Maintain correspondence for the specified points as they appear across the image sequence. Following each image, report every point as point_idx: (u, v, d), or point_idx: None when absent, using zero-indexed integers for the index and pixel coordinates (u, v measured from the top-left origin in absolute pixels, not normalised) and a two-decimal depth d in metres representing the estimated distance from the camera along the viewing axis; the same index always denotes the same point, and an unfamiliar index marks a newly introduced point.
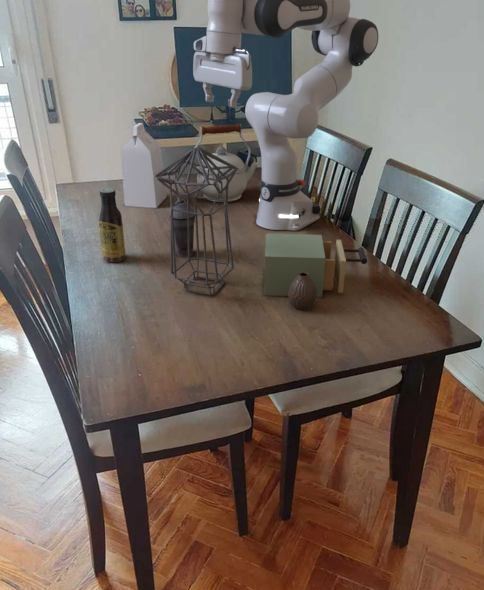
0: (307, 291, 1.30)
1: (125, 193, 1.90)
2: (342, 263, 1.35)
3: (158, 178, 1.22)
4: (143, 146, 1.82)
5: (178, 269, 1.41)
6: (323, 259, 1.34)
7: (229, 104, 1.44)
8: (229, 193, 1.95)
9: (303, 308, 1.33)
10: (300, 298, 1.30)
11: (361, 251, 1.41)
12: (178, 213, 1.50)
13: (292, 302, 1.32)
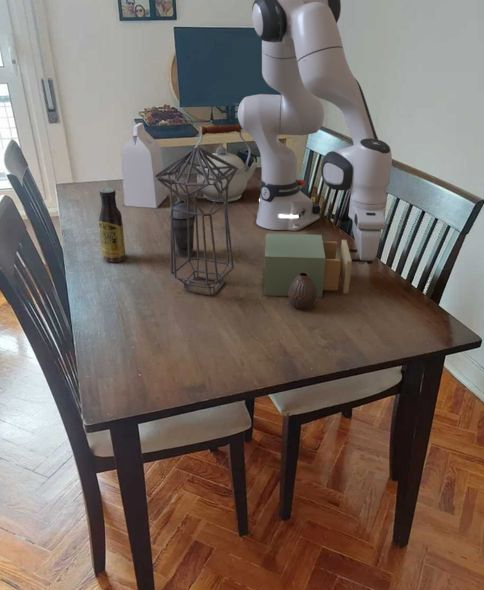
0: (307, 291, 1.30)
1: (125, 193, 1.90)
2: (348, 263, 1.35)
3: (158, 178, 1.22)
4: (143, 146, 1.82)
5: (178, 269, 1.41)
6: (323, 259, 1.34)
7: None
8: (229, 193, 1.95)
9: (303, 308, 1.33)
10: (300, 298, 1.30)
11: None
12: (178, 213, 1.50)
13: (292, 302, 1.32)
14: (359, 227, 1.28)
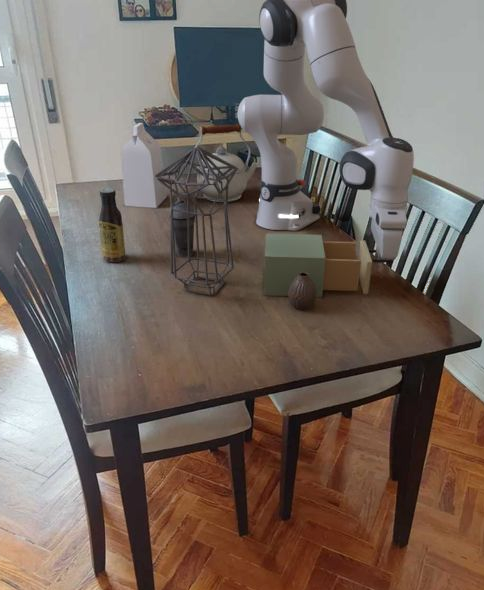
0: (307, 291, 1.30)
1: (125, 193, 1.90)
2: (368, 264, 1.35)
3: (158, 178, 1.22)
4: (143, 146, 1.82)
5: (178, 269, 1.41)
6: (323, 259, 1.34)
7: None
8: (229, 193, 1.95)
9: (303, 308, 1.33)
10: (300, 298, 1.30)
11: None
12: (178, 213, 1.50)
13: (292, 302, 1.32)
14: (381, 226, 1.28)
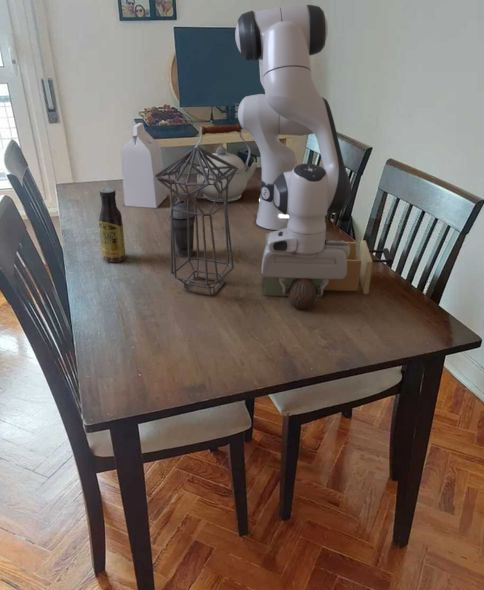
0: (307, 291, 1.30)
1: (125, 193, 1.90)
2: (368, 264, 1.35)
3: (158, 178, 1.22)
4: (143, 146, 1.82)
5: (178, 269, 1.41)
6: None
7: (319, 292, 1.32)
8: (229, 193, 1.95)
9: (303, 308, 1.33)
10: (300, 298, 1.30)
11: (386, 252, 1.41)
12: (178, 213, 1.50)
13: (292, 302, 1.32)
14: None
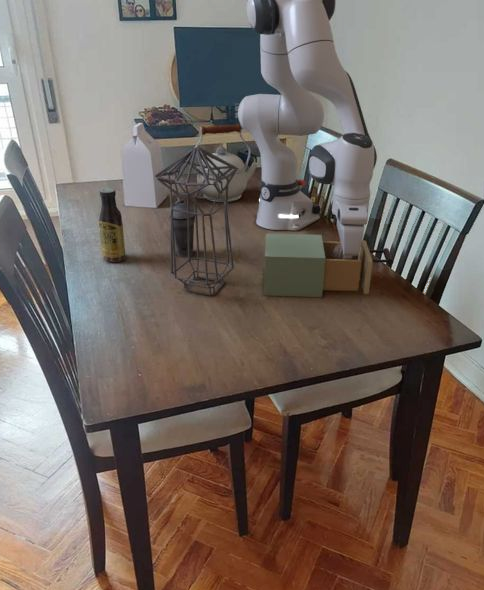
0: None
1: (125, 193, 1.90)
2: (369, 264, 1.35)
3: (158, 178, 1.22)
4: (143, 146, 1.82)
5: (178, 269, 1.41)
6: (323, 259, 1.34)
7: None
8: (229, 193, 1.95)
9: None
10: None
11: (386, 252, 1.41)
12: (178, 213, 1.50)
13: None
14: (342, 222, 1.28)
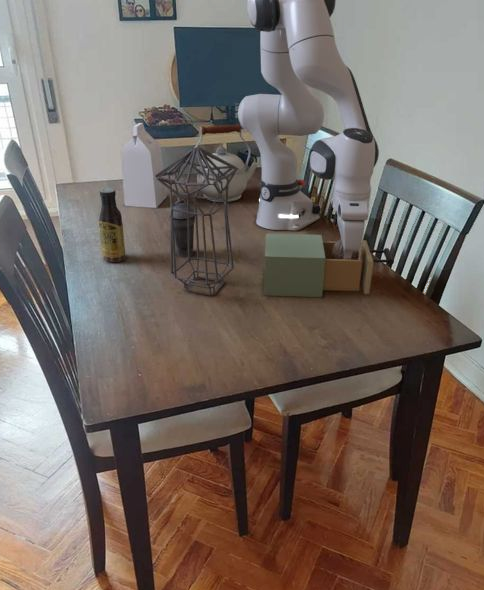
0: None
1: (125, 193, 1.90)
2: (369, 264, 1.35)
3: (158, 178, 1.22)
4: (143, 146, 1.82)
5: (178, 269, 1.41)
6: (323, 259, 1.34)
7: None
8: (229, 193, 1.95)
9: None
10: (358, 253, 1.40)
11: (387, 252, 1.41)
12: (178, 213, 1.50)
13: None
14: (342, 218, 1.27)
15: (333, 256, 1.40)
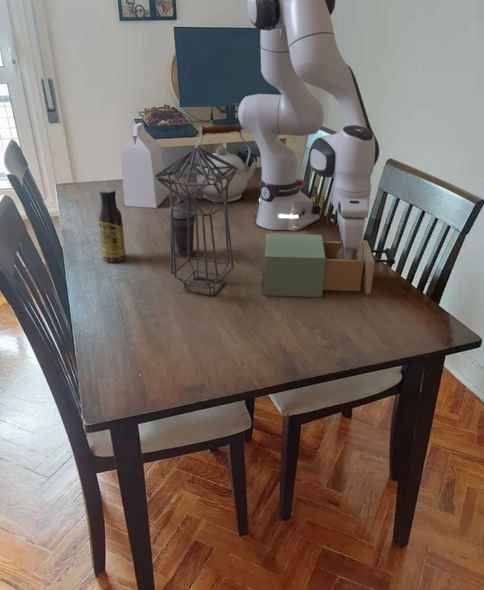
0: None
1: (125, 193, 1.90)
2: (371, 264, 1.35)
3: (158, 178, 1.22)
4: (143, 146, 1.82)
5: (178, 269, 1.41)
6: (323, 259, 1.34)
7: None
8: (229, 193, 1.95)
9: None
10: None
11: (388, 252, 1.41)
12: (178, 213, 1.50)
13: None
14: (342, 215, 1.27)
15: None
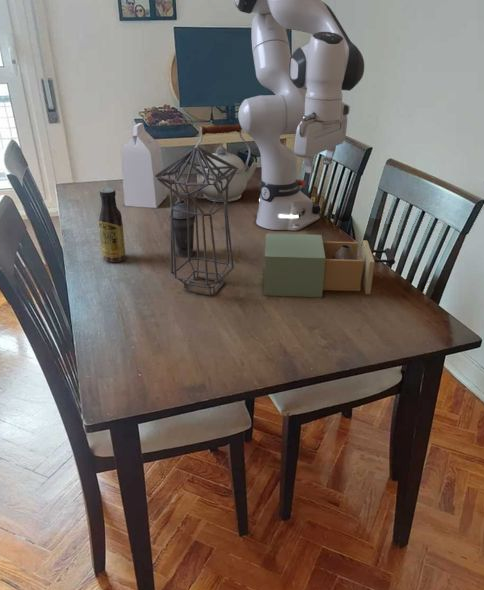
0: None
1: (125, 193, 1.90)
2: (370, 264, 1.35)
3: (158, 178, 1.22)
4: (143, 146, 1.82)
5: (178, 269, 1.41)
6: (323, 259, 1.34)
7: None
8: (229, 193, 1.95)
9: None
10: None
11: (388, 252, 1.41)
12: (178, 213, 1.50)
13: None
14: None
15: None
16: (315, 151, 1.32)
